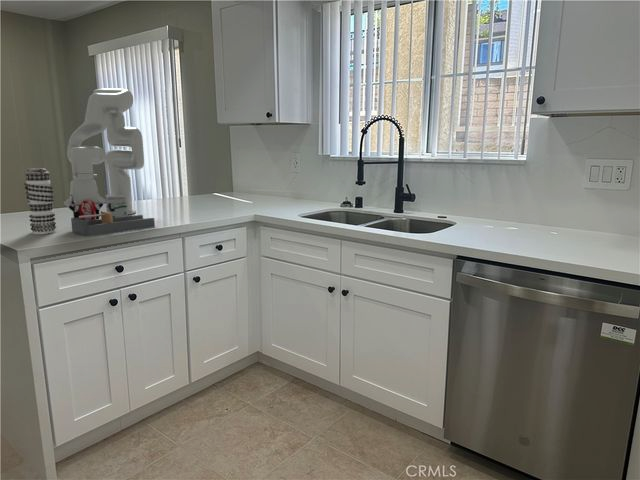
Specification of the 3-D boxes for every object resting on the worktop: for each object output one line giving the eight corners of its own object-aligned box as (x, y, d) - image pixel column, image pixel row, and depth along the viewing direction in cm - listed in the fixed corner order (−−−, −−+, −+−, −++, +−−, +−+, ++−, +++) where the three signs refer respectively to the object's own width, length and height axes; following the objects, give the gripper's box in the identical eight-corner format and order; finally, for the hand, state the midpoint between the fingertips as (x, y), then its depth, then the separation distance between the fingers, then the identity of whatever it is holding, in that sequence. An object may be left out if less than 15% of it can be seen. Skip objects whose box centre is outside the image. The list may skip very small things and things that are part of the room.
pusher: (76, 229, 174) (74, 213, 172) (104, 226, 182) (103, 211, 180) (84, 233, 168) (83, 216, 167) (113, 229, 176) (112, 213, 175)
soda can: (101, 226, 186) (98, 198, 183) (87, 229, 179) (84, 200, 176) (88, 225, 188) (85, 197, 185) (74, 228, 181) (71, 199, 179)
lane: (72, 231, 174) (70, 218, 173) (141, 223, 196) (141, 210, 194) (83, 236, 167) (82, 221, 166) (154, 226, 188) (154, 214, 187)
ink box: (107, 222, 196) (105, 196, 193) (107, 220, 200) (104, 194, 198) (128, 221, 200) (126, 195, 197) (127, 219, 204) (125, 194, 202)
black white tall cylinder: (25, 232, 171) (17, 168, 166) (50, 228, 179) (43, 167, 173) (36, 235, 166) (28, 169, 161) (62, 231, 174) (55, 168, 169)
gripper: (101, 176, 188) (104, 216, 192) (56, 177, 175) (61, 221, 179) (108, 177, 183) (112, 218, 187) (63, 179, 170) (68, 223, 174)
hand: (87, 219), depth 183 cm, fingers closed on soda can, 7 cm apart
